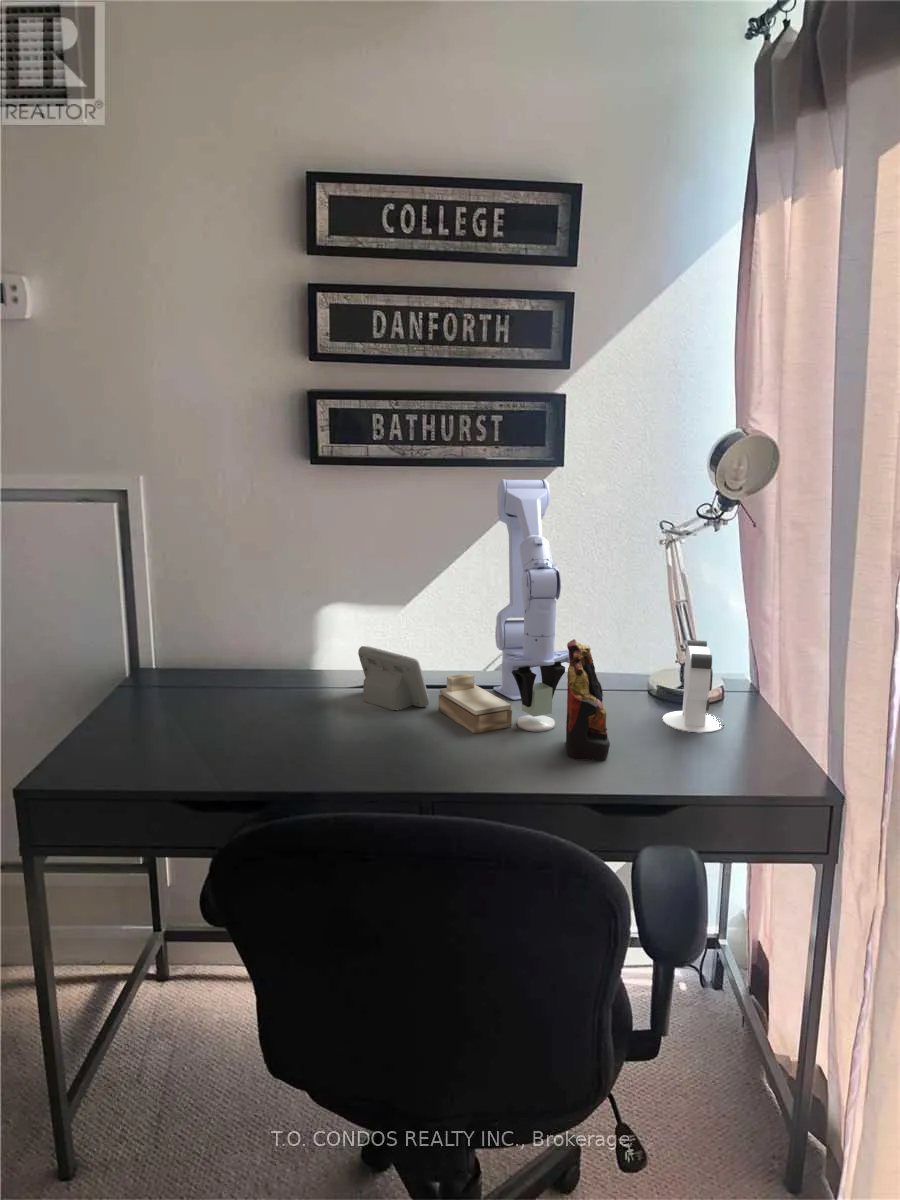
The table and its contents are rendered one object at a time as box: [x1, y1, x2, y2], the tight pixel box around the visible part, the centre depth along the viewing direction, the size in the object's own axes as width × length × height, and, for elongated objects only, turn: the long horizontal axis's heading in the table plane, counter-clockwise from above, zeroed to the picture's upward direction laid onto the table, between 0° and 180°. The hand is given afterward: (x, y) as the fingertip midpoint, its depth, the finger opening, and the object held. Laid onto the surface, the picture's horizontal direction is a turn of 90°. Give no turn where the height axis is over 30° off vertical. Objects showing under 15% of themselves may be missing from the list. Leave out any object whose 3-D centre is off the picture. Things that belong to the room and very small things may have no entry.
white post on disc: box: [662, 639, 722, 734], centre depth 169 cm, size 12×11×15 cm
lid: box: [439, 673, 512, 715], centre depth 171 cm, size 8×14×3 cm, turn 29°
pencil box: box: [438, 693, 513, 734], centre depth 172 cm, size 8×14×3 cm, turn 29°
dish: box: [516, 714, 556, 733], centre depth 169 cm, size 7×7×1 cm
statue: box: [565, 638, 611, 761], centre depth 156 cm, size 12×8×20 cm, turn 169°
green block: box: [521, 682, 553, 717], centre depth 168 cm, size 4×4×5 cm
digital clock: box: [357, 645, 430, 711], centre depth 180 cm, size 16×9×11 cm, turn 38°
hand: (536, 703), depth 168 cm, fingers closed on green block, 4 cm apart
